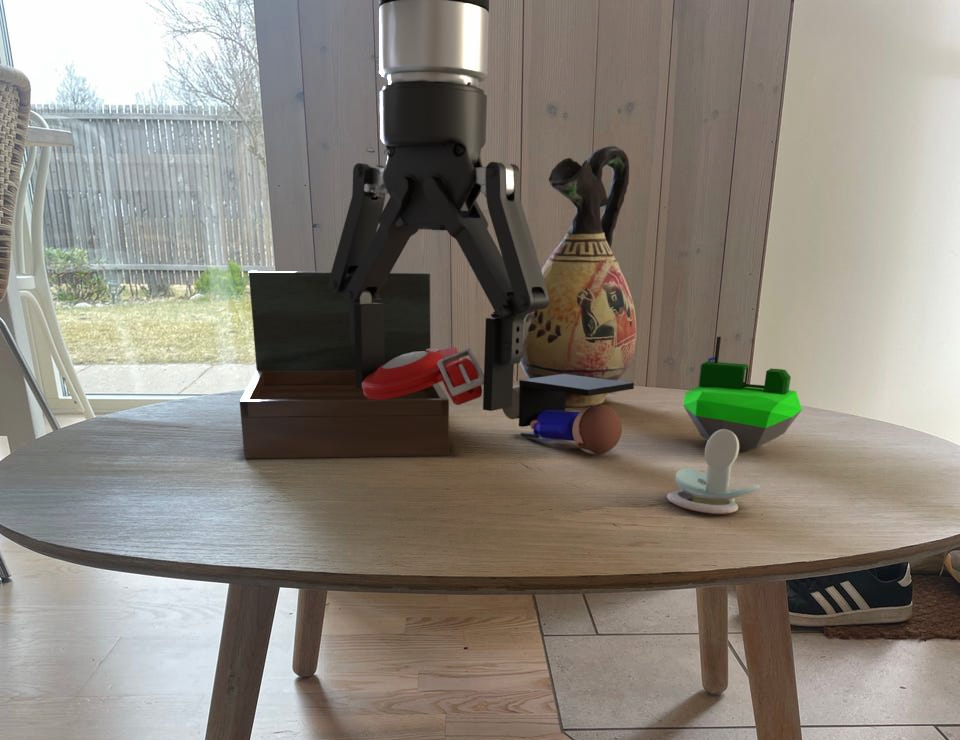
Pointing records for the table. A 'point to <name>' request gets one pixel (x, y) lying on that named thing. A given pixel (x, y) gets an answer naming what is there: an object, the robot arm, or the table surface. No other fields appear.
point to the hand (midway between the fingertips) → (431, 397)
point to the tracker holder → (427, 375)
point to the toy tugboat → (741, 403)
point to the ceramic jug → (584, 284)
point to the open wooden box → (335, 373)
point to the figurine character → (547, 417)
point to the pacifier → (711, 478)
